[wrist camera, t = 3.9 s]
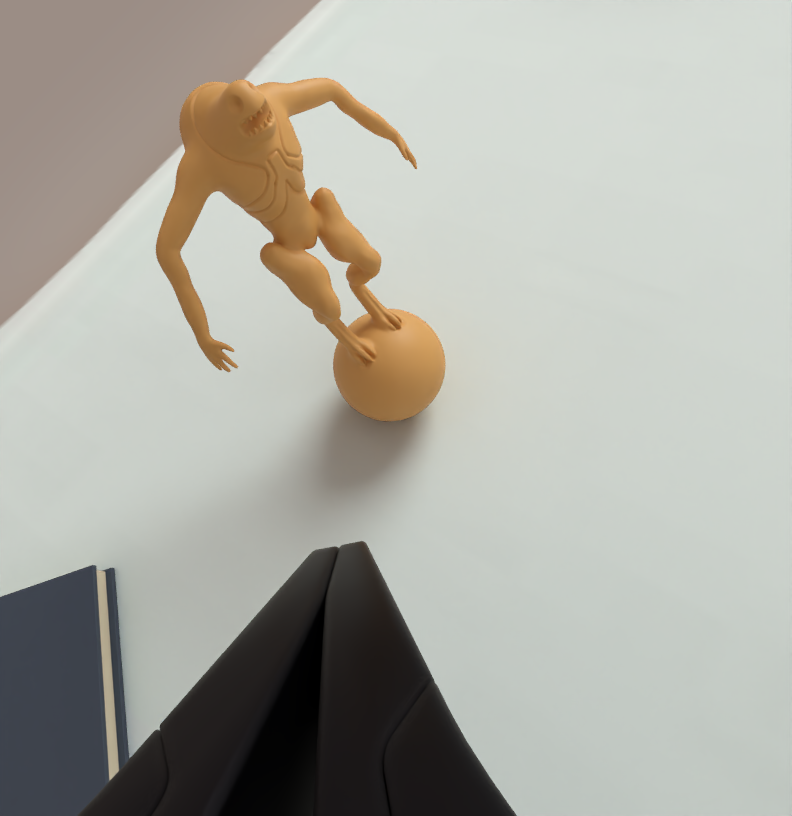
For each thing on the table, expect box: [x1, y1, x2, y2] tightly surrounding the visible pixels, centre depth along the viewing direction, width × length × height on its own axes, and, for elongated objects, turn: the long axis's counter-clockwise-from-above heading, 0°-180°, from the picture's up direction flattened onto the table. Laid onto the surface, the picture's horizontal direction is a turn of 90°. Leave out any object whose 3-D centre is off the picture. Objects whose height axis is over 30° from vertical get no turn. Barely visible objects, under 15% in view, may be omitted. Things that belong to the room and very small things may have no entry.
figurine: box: [156, 78, 445, 421], centre depth 15 cm, size 8×6×12 cm
